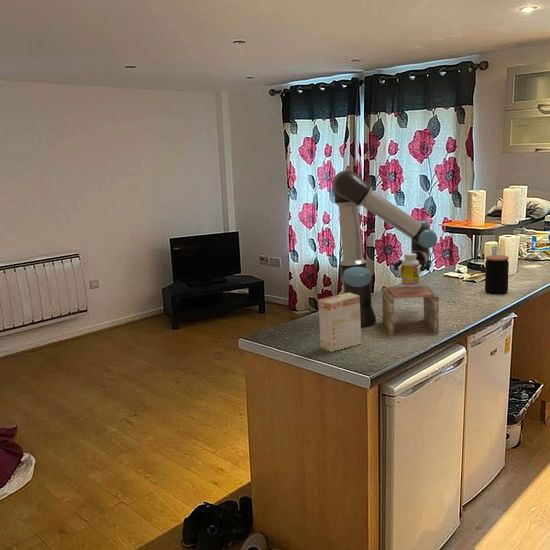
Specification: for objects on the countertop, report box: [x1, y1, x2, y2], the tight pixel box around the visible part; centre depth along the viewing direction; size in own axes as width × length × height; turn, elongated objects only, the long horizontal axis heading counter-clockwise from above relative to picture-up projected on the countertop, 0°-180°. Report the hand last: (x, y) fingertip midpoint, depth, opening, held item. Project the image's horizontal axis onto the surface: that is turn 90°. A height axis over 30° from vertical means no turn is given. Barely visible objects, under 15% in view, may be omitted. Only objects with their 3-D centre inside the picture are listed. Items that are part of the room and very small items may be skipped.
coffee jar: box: [484, 254, 510, 295], centre depth 274 cm, size 11×11×18 cm
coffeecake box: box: [318, 293, 362, 351], centre depth 209 cm, size 15×7×20 cm, turn 123°
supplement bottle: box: [401, 252, 420, 287], centre depth 221 cm, size 7×7×13 cm
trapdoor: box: [386, 285, 432, 299], centre depth 227 cm, size 15×16×1 cm
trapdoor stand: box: [381, 285, 440, 336], centre depth 228 cm, size 19×20×15 cm
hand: (408, 271), depth 217 cm, fingers closed on supplement bottle, 7 cm apart
